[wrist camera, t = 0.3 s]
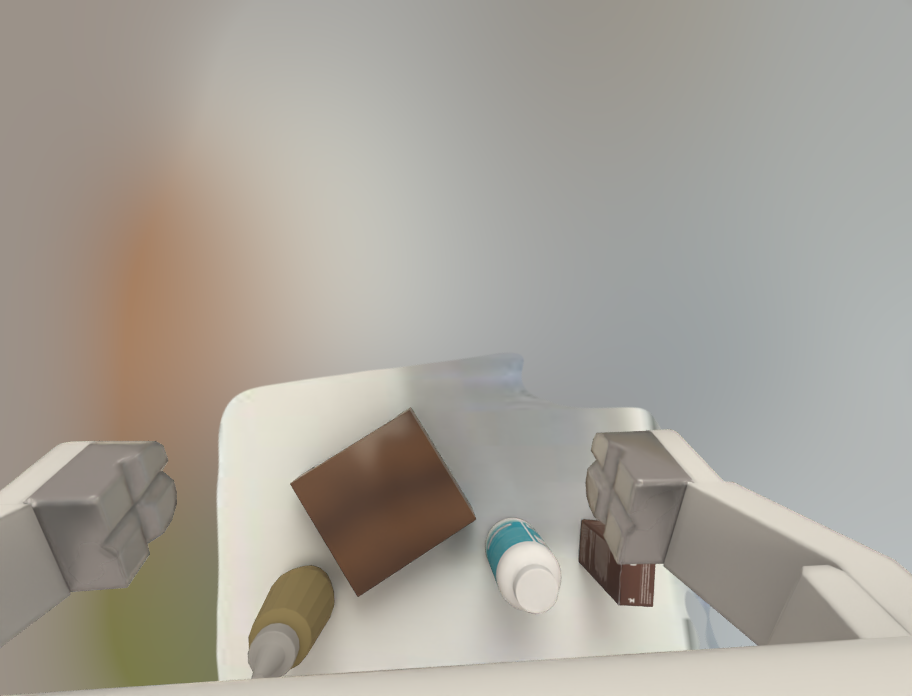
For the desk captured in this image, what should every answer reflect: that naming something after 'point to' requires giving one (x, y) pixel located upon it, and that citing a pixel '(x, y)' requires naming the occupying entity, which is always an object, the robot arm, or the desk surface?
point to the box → (615, 569)
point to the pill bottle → (523, 566)
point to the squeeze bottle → (290, 621)
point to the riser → (383, 501)
